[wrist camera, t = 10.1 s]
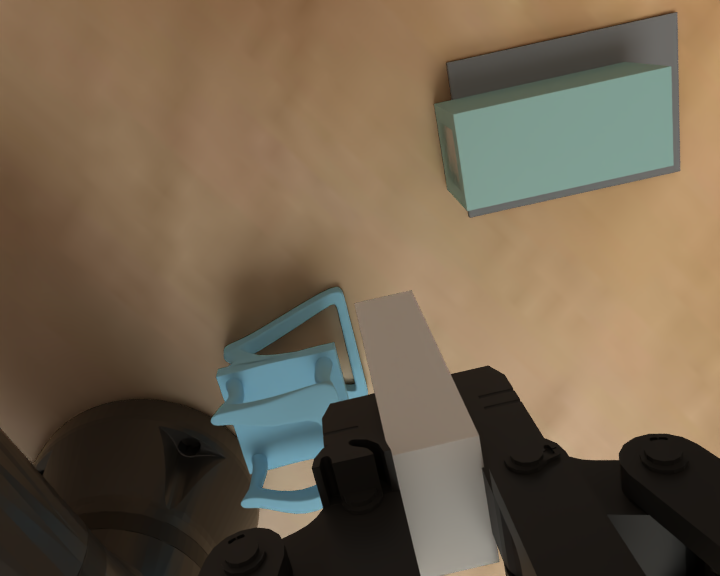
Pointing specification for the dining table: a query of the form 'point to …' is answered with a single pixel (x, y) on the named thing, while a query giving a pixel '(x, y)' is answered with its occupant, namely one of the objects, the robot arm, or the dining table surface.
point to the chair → (285, 400)
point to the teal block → (556, 133)
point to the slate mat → (573, 55)
